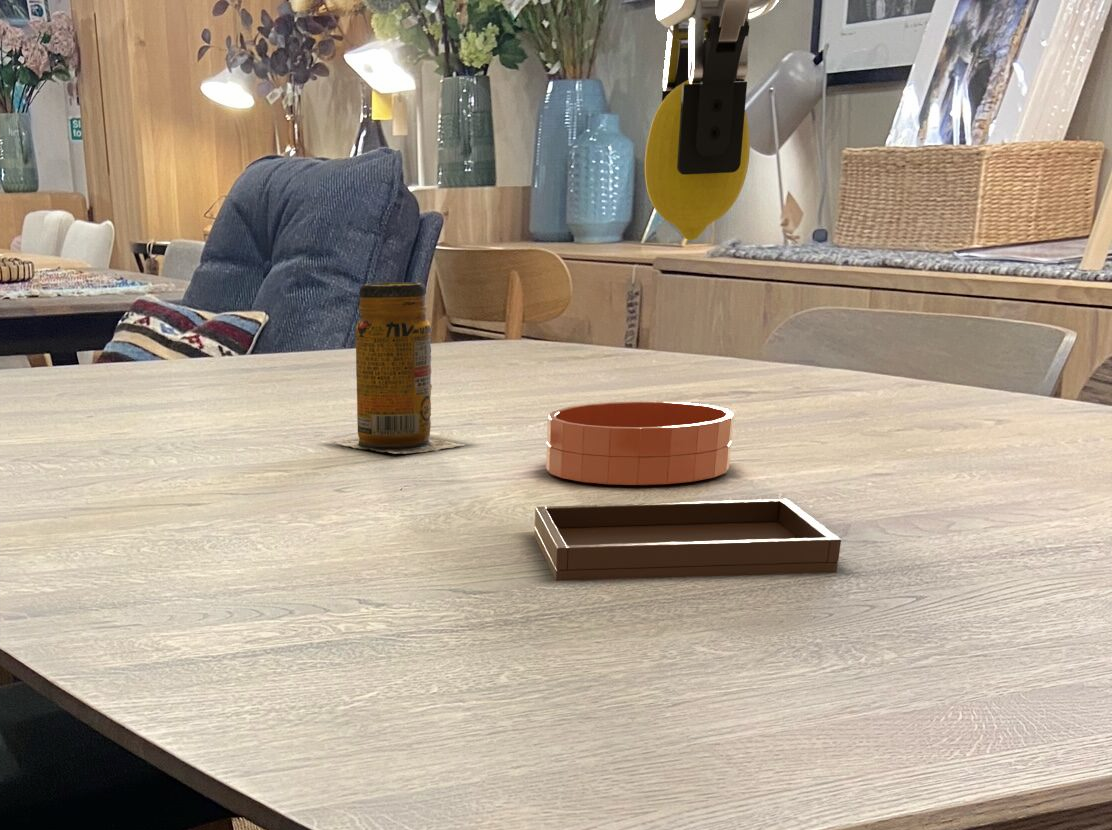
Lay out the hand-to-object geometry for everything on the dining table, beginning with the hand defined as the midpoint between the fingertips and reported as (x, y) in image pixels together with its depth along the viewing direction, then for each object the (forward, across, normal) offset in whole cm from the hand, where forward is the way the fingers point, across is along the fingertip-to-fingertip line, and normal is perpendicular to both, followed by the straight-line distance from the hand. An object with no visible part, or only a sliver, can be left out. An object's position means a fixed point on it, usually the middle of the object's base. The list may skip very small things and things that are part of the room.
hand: (696, 169), depth 78 cm
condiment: (+19, +35, +16) cm, 43 cm away
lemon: (+4, 0, 0) cm, 4 cm away
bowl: (+19, +20, -1) cm, 28 cm away
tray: (+19, -6, +1) cm, 20 cm away
